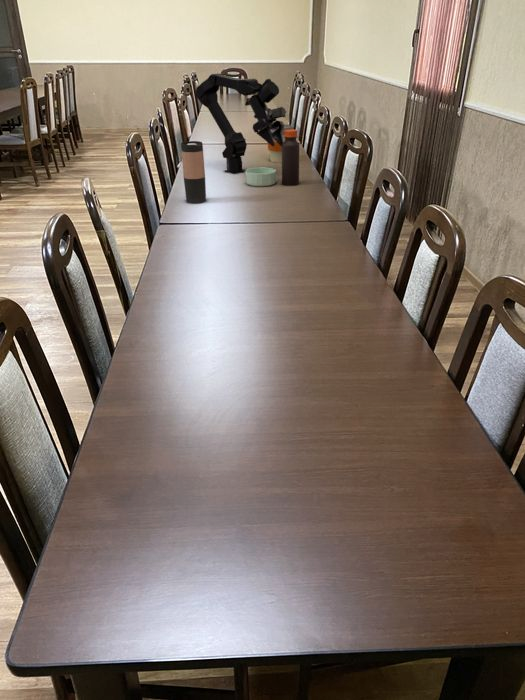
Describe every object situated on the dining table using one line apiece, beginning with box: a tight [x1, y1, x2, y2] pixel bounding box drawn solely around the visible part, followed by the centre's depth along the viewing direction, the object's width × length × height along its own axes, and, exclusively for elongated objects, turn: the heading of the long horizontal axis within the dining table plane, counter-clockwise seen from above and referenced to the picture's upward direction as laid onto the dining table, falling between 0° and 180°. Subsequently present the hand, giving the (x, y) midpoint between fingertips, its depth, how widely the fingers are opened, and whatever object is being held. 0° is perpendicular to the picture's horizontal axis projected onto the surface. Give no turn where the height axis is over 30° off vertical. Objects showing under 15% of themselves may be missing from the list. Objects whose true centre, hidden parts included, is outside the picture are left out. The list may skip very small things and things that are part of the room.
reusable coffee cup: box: [266, 124, 294, 163], centre depth 251 cm, size 13×13×15 cm
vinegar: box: [281, 128, 300, 186], centre depth 210 cm, size 7×7×20 cm
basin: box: [244, 166, 277, 188], centre depth 215 cm, size 12×12×5 cm
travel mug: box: [180, 140, 207, 204], centre depth 191 cm, size 8×8×20 cm
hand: (278, 145), depth 215 cm, fingers open, 9 cm apart
